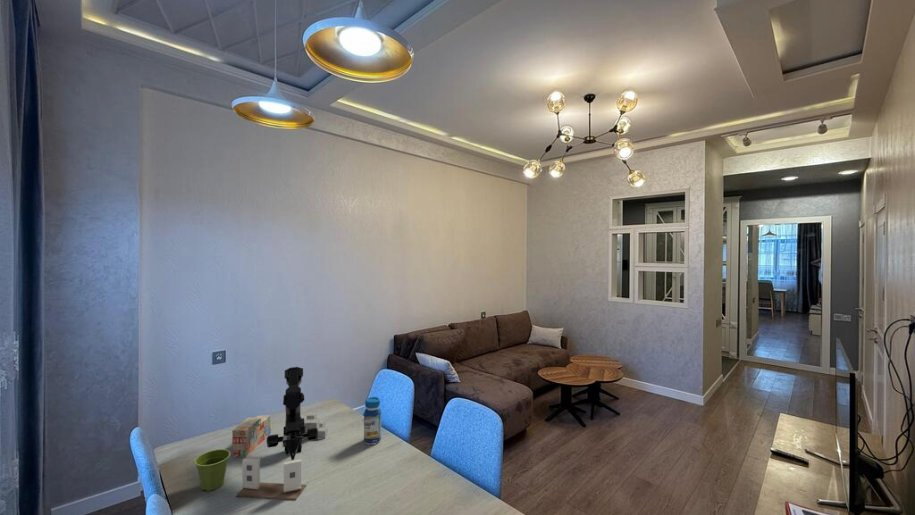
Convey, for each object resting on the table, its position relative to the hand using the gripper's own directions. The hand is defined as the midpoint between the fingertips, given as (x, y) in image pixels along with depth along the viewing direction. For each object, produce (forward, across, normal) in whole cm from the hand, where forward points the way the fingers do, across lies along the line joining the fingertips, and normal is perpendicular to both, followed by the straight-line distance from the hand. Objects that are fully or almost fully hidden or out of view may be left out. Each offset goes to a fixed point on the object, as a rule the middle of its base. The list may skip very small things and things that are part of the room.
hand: (292, 459), depth 147 cm
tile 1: (+9, 0, +2) cm, 10 cm away
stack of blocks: (-22, -18, +35) cm, 45 cm away
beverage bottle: (-9, +35, +23) cm, 42 cm away
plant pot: (-1, -29, +15) cm, 32 cm away
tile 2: (+4, -15, +7) cm, 17 cm away
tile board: (+8, -7, +6) cm, 12 cm away
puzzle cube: (-22, +10, +36) cm, 43 cm away
